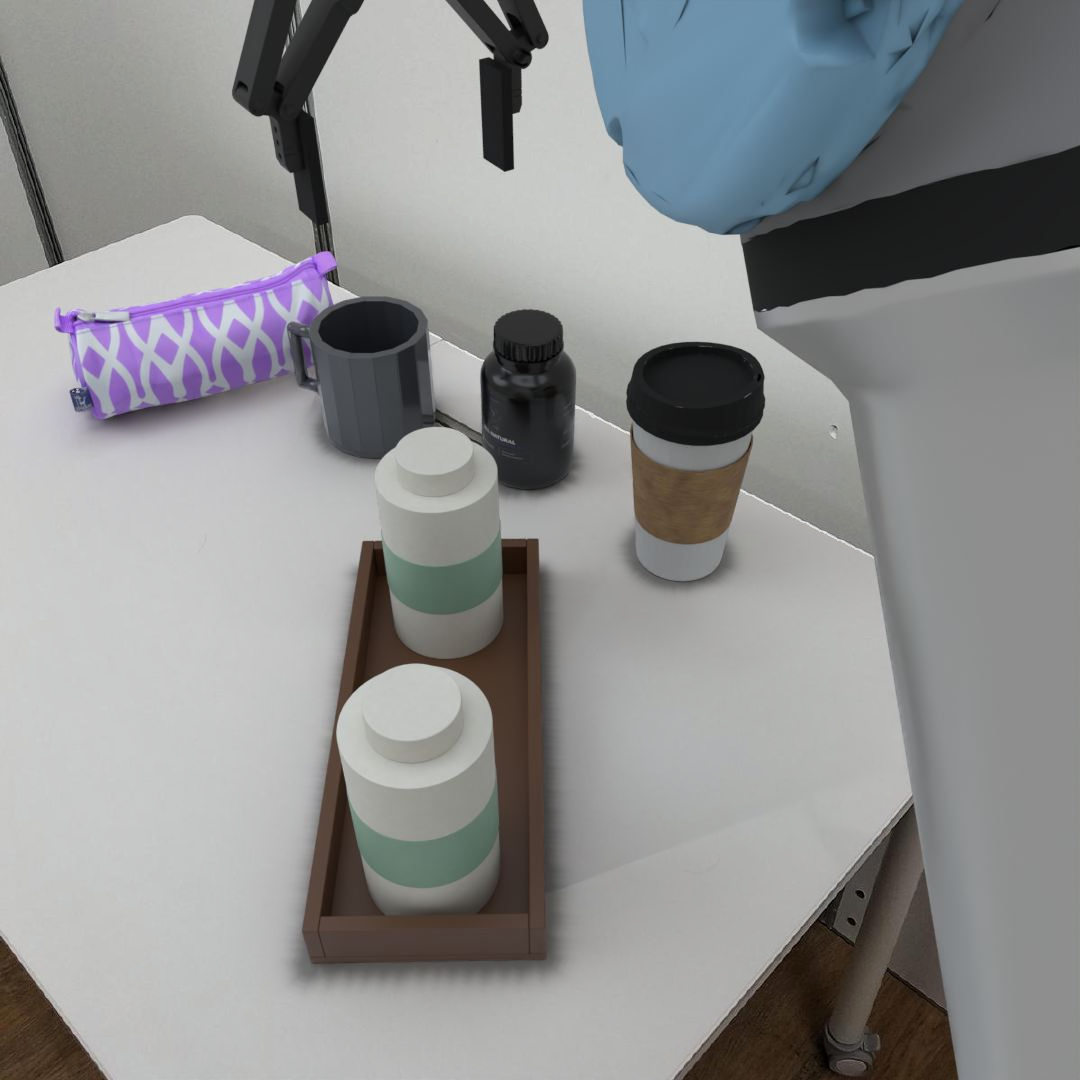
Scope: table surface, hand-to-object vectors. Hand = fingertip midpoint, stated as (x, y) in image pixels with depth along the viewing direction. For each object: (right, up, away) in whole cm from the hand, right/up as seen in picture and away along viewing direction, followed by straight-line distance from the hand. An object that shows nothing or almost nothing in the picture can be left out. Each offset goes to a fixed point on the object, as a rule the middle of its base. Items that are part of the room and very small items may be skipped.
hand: (409, 189), depth 72 cm
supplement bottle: (+8, -17, +12) cm, 22 cm away
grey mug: (-6, -13, +16) cm, 22 cm away
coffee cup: (+18, -24, +5) cm, 30 cm away
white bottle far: (+3, -28, -1) cm, 28 cm away
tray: (+3, -34, -7) cm, 35 cm away
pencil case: (-18, -10, +20) cm, 29 cm away
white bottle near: (+3, -40, -14) cm, 42 cm away
